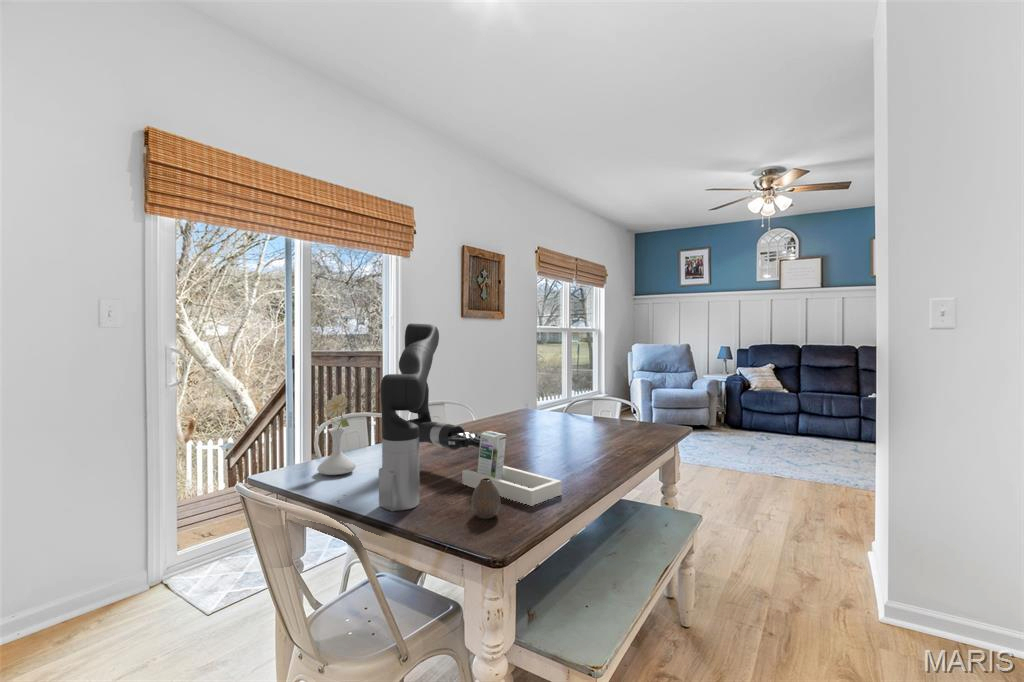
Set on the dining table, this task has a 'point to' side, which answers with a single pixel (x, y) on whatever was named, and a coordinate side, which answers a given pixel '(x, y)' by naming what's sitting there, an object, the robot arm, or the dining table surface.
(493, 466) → the syrup box
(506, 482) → the rectangular tray
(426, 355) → the robot arm
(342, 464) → the flower in vase
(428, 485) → the dining table surface
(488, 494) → the vase
